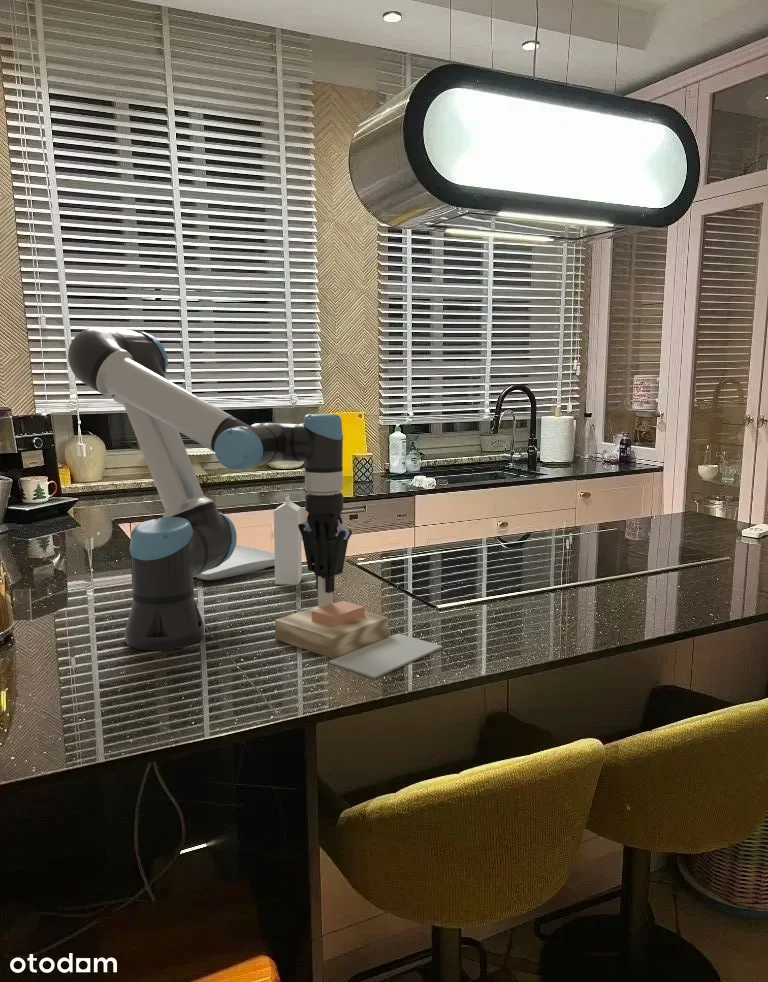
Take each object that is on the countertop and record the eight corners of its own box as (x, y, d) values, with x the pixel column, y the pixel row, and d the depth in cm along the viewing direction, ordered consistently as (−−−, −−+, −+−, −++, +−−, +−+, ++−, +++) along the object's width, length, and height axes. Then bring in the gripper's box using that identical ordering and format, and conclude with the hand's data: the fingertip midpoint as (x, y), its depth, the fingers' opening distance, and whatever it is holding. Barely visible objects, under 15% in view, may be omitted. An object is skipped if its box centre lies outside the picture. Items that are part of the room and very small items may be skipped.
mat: (374, 678, 130) (374, 676, 130) (329, 663, 137) (329, 660, 137) (442, 647, 145) (442, 645, 145) (398, 635, 152) (398, 633, 152)
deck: (332, 658, 139) (332, 637, 139) (275, 639, 150) (274, 619, 149) (388, 636, 151) (388, 617, 151) (331, 620, 162) (331, 602, 161)
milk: (275, 584, 189) (272, 498, 186) (279, 578, 195) (277, 494, 192) (299, 584, 189) (297, 498, 186) (302, 578, 195) (300, 494, 192)
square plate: (289, 568, 207) (288, 554, 207) (205, 588, 187) (205, 573, 186) (229, 552, 225) (228, 540, 225) (147, 569, 205) (146, 555, 204)
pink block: (333, 627, 145) (333, 617, 145) (311, 620, 149) (311, 610, 148) (364, 616, 152) (364, 606, 151) (342, 610, 156) (342, 600, 155)
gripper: (361, 493, 148) (361, 609, 151) (314, 487, 156) (316, 597, 159) (334, 497, 142) (335, 617, 146) (287, 491, 150) (289, 605, 154)
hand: (325, 606), depth 152 cm, fingers closed
